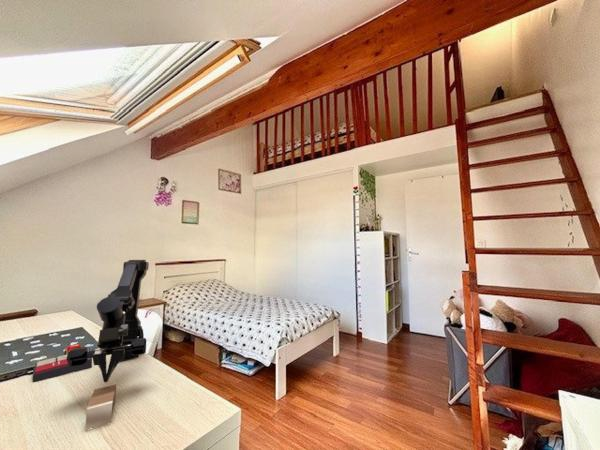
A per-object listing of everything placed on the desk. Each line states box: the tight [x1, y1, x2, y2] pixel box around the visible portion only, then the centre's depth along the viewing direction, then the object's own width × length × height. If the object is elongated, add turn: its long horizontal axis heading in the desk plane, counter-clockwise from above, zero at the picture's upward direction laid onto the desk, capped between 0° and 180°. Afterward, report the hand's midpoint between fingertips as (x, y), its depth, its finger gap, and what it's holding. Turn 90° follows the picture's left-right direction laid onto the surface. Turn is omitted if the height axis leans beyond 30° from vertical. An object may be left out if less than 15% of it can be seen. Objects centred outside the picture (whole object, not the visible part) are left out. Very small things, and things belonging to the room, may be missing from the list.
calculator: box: [32, 349, 93, 383], centre depth 91 cm, size 11×4×15 cm
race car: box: [64, 343, 82, 355], centre depth 103 cm, size 13×5×4 cm, turn 47°
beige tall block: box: [85, 384, 117, 431], centre depth 67 cm, size 5×5×10 cm
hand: (105, 381), depth 70 cm, fingers closed
